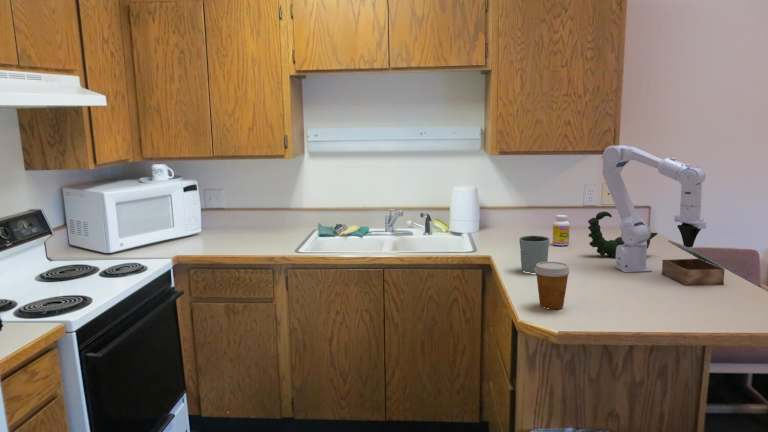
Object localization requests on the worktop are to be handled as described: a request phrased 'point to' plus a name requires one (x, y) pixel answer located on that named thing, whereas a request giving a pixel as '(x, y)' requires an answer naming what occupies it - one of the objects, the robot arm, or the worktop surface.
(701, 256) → the lid
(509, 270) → the worktop surface
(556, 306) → the disposable coffee cup
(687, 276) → the box
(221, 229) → the worktop surface
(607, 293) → the worktop surface
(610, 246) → the toy figurine
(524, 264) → the grey cup
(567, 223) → the supplement bottle
